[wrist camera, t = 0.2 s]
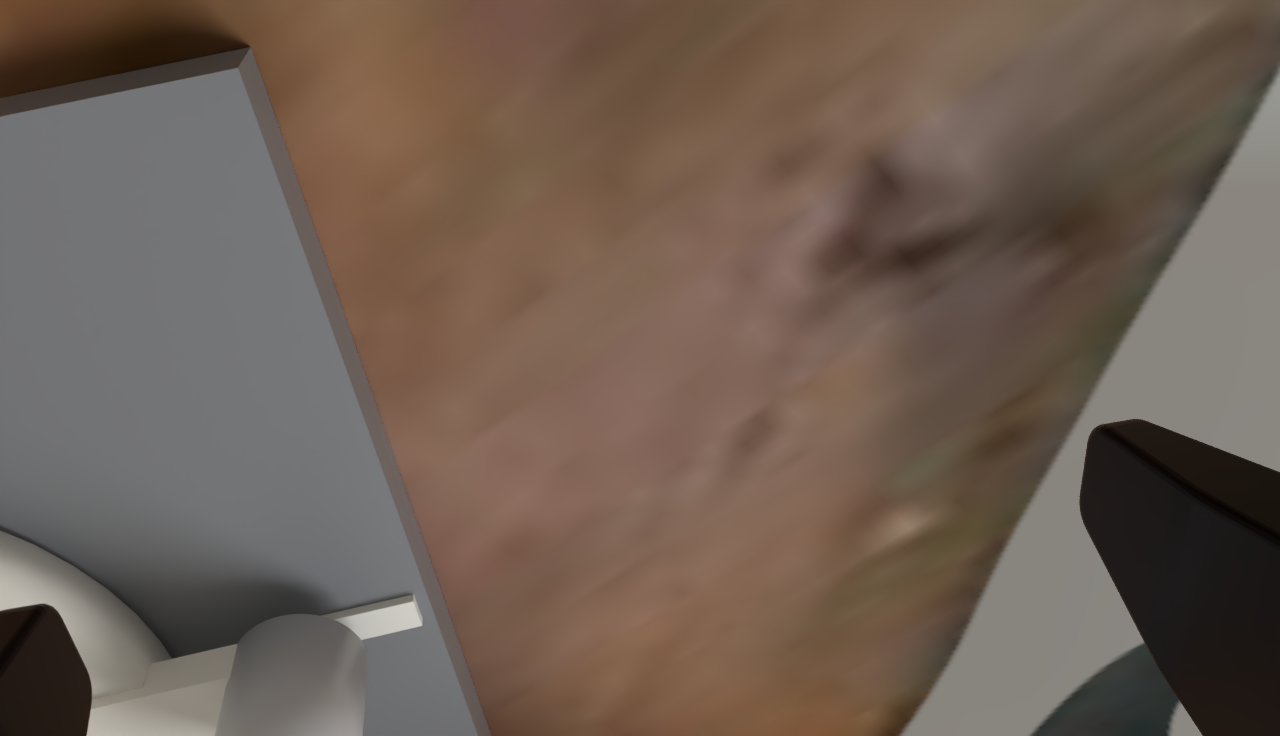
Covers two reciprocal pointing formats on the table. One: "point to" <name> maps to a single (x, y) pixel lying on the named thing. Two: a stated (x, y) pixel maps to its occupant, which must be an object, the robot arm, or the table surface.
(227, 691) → the dial
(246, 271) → the dial plate
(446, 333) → the table surface
